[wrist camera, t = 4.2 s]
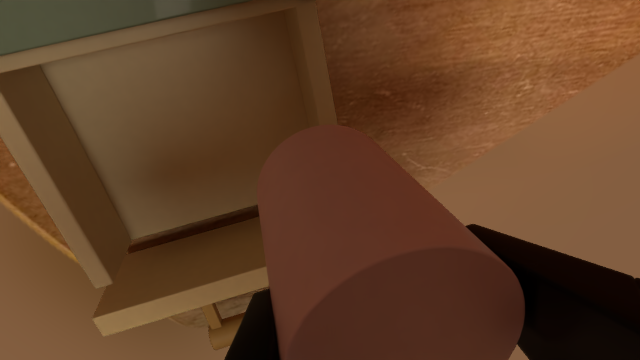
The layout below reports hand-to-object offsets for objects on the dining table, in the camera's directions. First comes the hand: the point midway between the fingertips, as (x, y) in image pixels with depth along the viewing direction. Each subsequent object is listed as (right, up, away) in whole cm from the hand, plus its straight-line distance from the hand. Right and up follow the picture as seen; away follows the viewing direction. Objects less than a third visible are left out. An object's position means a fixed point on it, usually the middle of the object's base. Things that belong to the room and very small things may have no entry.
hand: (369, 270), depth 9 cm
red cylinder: (-1, +2, +4) cm, 5 cm away
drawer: (-7, +2, +11) cm, 13 cm away
